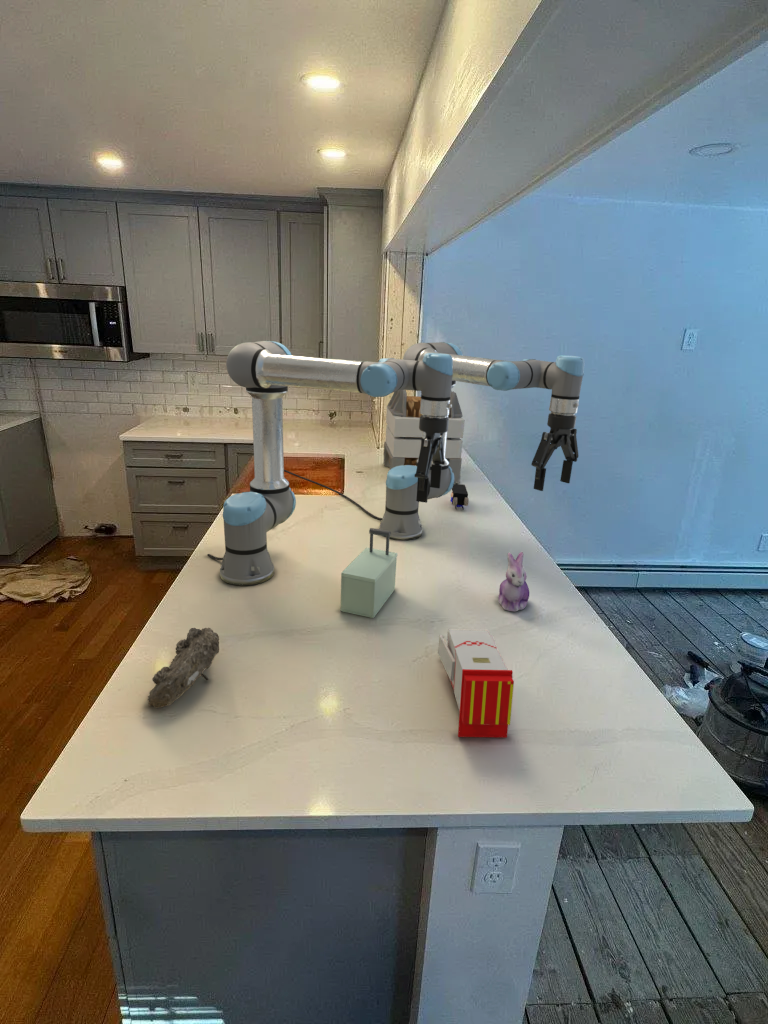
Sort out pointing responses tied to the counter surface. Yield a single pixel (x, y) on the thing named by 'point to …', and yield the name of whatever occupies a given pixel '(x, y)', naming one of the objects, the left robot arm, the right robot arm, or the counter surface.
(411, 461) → the light grey boxy piece
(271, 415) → the left robot arm
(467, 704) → the toy
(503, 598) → the figurine
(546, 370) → the right robot arm
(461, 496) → the figurine character
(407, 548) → the counter surface
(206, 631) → the fossil
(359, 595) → the chest
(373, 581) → the lid
